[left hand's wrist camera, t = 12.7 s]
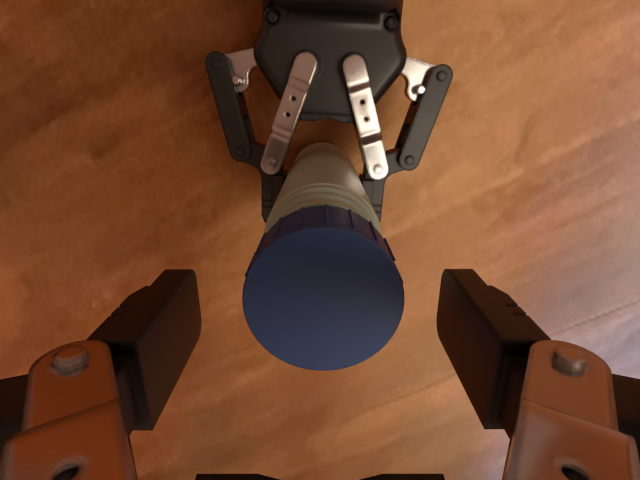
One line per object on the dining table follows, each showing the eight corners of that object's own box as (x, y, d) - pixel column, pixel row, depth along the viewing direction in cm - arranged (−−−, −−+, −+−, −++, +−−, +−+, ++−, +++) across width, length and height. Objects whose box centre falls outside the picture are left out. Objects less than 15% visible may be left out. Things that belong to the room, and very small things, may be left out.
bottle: (293, 204, 31) (249, 368, 12) (289, 143, 29) (231, 221, 10) (353, 202, 31) (403, 363, 12) (352, 140, 29) (409, 215, 10)
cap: (260, 331, 14) (248, 374, 12) (246, 205, 12) (230, 228, 10) (390, 328, 14) (402, 370, 12) (393, 200, 12) (409, 222, 10)
